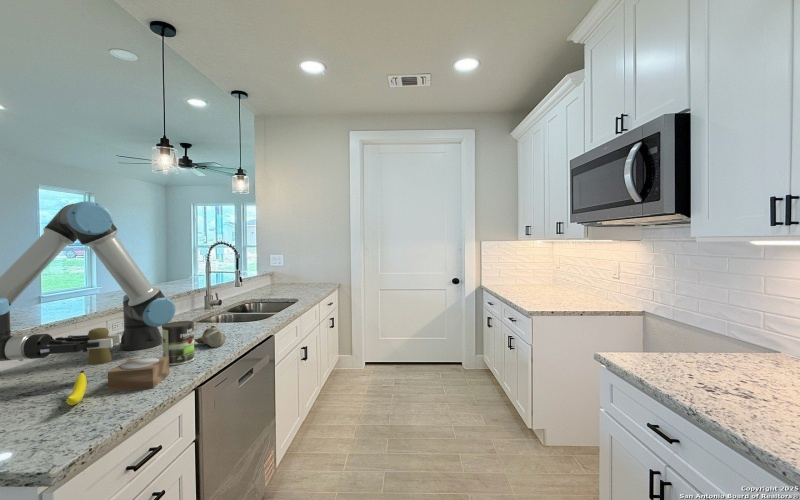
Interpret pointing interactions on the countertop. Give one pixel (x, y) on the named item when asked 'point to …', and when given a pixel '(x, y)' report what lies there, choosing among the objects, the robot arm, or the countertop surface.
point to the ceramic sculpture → (212, 337)
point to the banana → (78, 390)
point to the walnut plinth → (138, 374)
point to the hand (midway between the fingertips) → (116, 340)
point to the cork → (98, 354)
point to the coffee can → (178, 342)
